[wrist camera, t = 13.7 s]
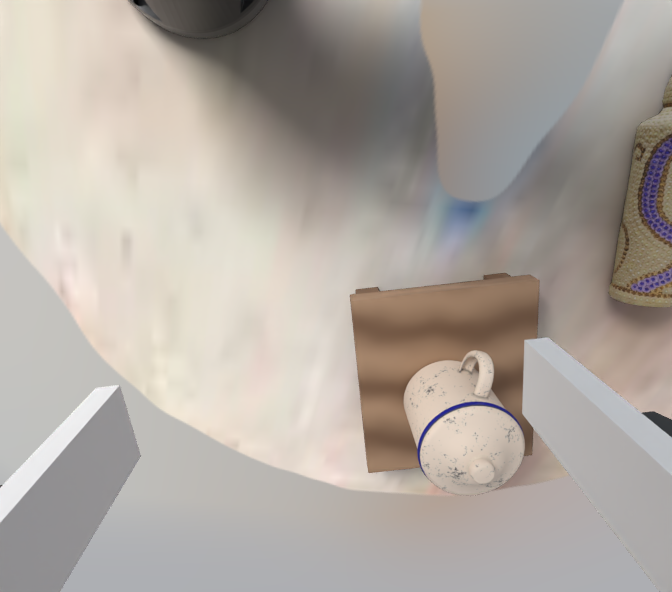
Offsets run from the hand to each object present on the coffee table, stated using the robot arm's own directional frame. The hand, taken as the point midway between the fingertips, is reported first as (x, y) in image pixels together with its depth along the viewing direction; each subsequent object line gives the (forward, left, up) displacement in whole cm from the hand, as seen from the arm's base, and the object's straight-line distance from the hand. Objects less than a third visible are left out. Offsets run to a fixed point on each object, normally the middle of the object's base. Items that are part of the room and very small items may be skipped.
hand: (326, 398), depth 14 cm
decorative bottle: (-1, +35, -33) cm, 48 cm away
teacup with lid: (+16, +11, -27) cm, 33 cm away
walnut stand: (+16, +11, -33) cm, 38 cm away
